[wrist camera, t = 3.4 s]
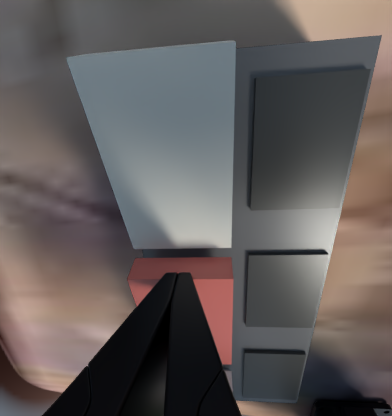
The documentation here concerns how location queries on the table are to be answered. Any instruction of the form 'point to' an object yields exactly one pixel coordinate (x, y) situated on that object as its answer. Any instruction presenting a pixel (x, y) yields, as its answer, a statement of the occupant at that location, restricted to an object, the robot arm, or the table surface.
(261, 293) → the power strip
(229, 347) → the red block
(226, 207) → the white rectangular block
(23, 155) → the table surface
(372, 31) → the table surface
